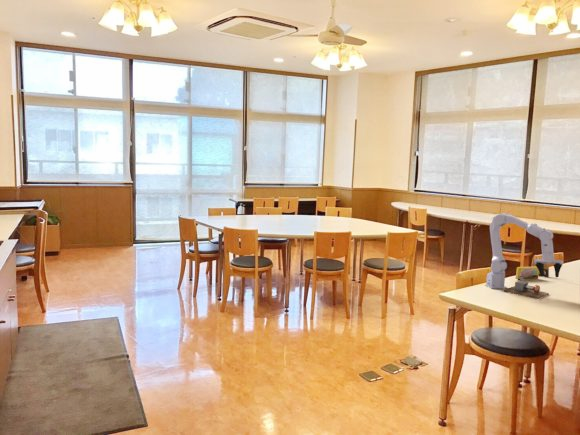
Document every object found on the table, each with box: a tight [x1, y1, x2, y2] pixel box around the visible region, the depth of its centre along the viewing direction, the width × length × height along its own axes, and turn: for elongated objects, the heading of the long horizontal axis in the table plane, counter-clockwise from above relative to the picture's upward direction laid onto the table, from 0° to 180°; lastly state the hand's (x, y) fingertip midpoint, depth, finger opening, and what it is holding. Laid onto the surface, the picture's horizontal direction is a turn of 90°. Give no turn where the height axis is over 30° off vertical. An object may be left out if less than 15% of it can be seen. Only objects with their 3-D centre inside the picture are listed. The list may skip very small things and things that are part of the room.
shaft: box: [524, 284, 541, 293], centre depth 268 cm, size 10×4×4 cm, turn 41°
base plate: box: [503, 285, 549, 300], centre depth 269 cm, size 19×14×1 cm
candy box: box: [515, 266, 540, 280], centre depth 302 cm, size 16×2×8 cm, turn 105°
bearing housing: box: [514, 280, 529, 292], centre depth 271 cm, size 4×7×5 cm, turn 131°
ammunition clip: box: [530, 256, 550, 278], centre depth 313 cm, size 11×2×12 cm, turn 49°
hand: (549, 276), depth 262 cm, fingers open, 7 cm apart
